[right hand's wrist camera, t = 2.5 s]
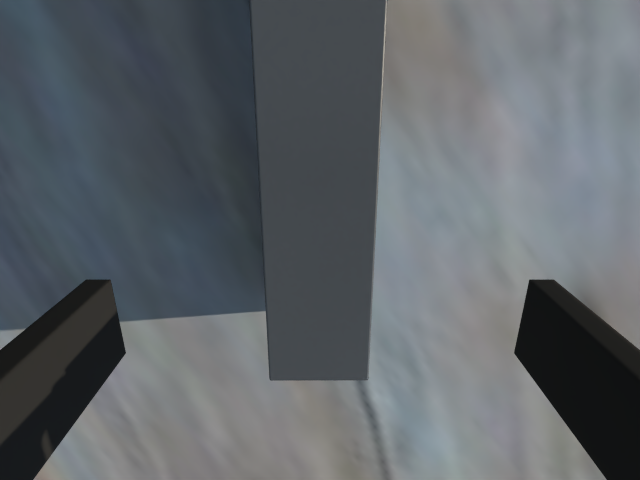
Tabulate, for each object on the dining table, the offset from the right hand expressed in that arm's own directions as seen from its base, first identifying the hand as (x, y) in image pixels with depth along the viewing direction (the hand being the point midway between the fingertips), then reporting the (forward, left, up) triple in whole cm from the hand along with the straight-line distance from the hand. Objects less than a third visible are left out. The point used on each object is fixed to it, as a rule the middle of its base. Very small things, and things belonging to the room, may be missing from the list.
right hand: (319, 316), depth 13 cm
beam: (+15, +17, -13) cm, 26 cm away
